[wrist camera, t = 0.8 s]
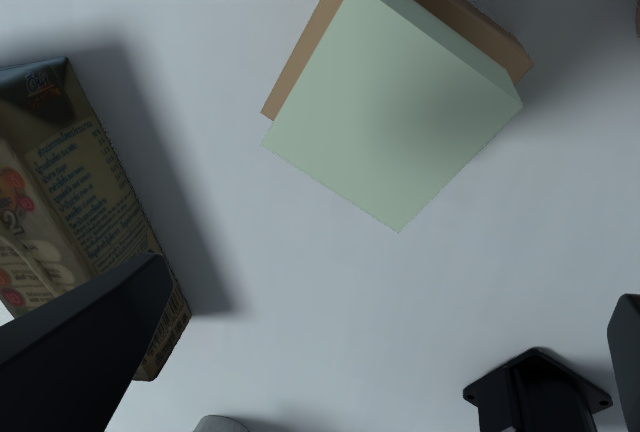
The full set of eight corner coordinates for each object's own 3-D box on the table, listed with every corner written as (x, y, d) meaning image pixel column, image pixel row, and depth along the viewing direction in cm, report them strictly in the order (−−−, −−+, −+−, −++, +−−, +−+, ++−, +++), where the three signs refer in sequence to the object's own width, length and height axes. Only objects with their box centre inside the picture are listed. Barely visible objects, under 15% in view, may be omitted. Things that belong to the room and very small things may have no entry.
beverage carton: (76, 47, 22) (-40, 89, 16) (201, 315, 32) (155, 394, 27) (-38, 68, 24) (-173, 111, 19) (113, 312, 34) (54, 385, 29)
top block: (505, 69, 14) (524, 106, 11) (403, 182, 17) (398, 233, 15) (370, -32, 13) (354, -19, 11) (289, 106, 17) (260, 144, 14)
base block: (515, 36, 17) (533, 64, 14) (407, 161, 21) (402, 205, 18) (372, -71, 16) (356, -69, 13) (287, 81, 20) (260, 112, 17)
